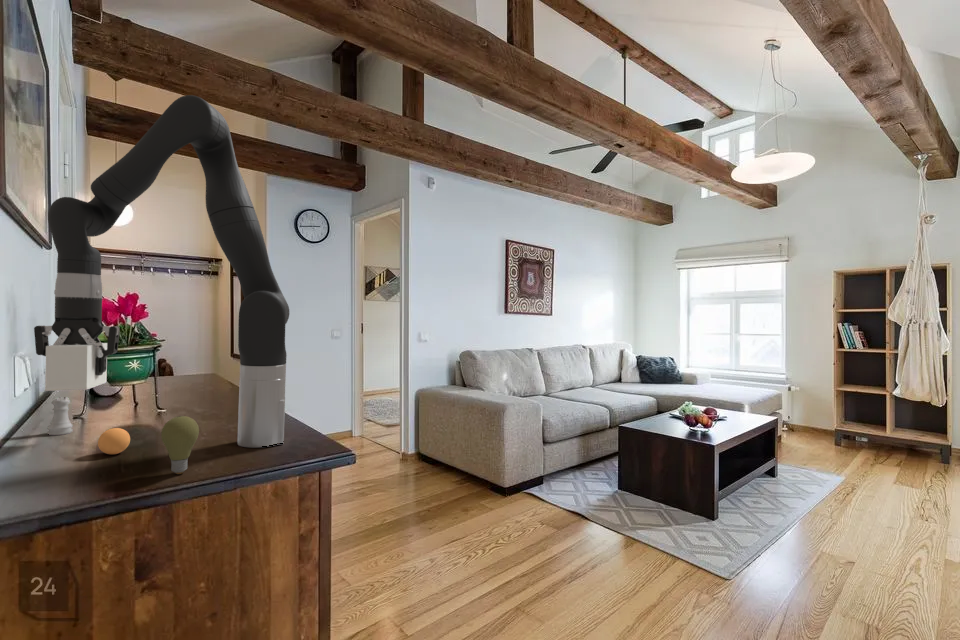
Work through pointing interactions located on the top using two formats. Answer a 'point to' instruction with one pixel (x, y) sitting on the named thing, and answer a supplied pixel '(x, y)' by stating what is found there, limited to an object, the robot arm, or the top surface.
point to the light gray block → (72, 367)
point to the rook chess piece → (60, 417)
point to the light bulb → (179, 441)
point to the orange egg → (114, 441)
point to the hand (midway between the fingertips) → (77, 375)
